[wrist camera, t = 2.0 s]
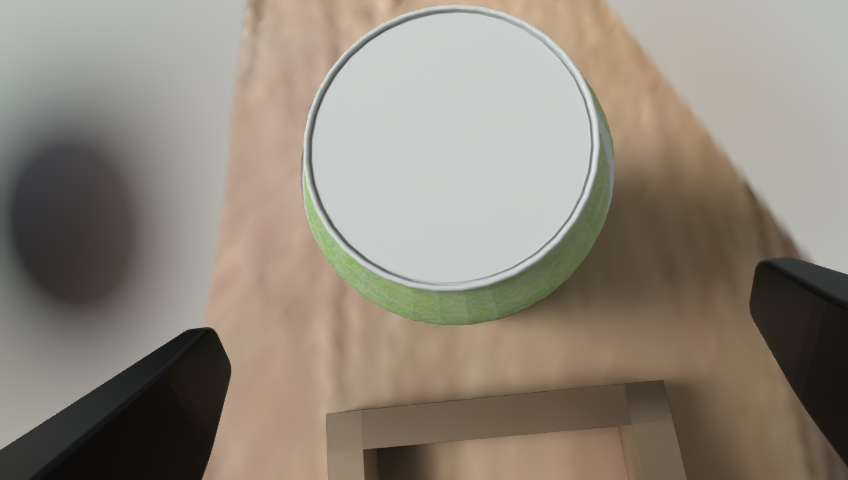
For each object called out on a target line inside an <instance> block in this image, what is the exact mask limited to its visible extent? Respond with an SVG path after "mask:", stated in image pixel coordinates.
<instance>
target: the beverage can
mask: <svg viewBox="0 0 848 480" xmlns="http://www.w3.org/2000/svg"><path fill="white" fill-rule="evenodd" d="M614 175H615V164H614V151H613V141H612V138H611V134H610V130H609V127H608V123H607V119H606V116H605V114H604V111H603V109H602V107H601V105H600V103H599V101H598V99H597V97H596V95H595V93H594V91H593V89H592V88H591V87H590V85H589V84H588V83H587V81H586V80H585V78H584V77H583V76H582V74H581V72H580V71H579V69H578V68H577V67H576V65H575V64H574V62H573V61H572V60H571V58H570V57H569V56H568V54H567V53H566V52H565V51H564V50H563V49H562V48H561V47H560V46H559V45H558V44H557V43H556V42H555V41H553V40H552V39H551V38H550V37H549V36H548V35H547V34H545V33H544V32H542V31H541V30H539V29H537V28H536V27H534V26H533V25H531V24H530V23H528V22H526V21H524V20H522V19H519V18H517V17H515V16H512V15H510V14H508V13H505V12H502V11H498V10H494V9H489V8H485V7H481V6H469V5H445V6H434V7H428V8H424V9H420V10H416V11H412V12H408V13H405V14H403V15H401V16H398V17H396V18H394V19H391V20H389V21H387V22H384V23H383V24H381V25H380V26H378V27H376V28H375V29H373V30H372V31H370V32H369V33H367V34H365V35H364V36H363V37H361V38H360V39H359V40H358V41H357V42H356V43H355V44H353V45H352V46H351V47H350V48H349V49H348V50H347V51H346V52H345V53H344V54H343V55H342V56H341V57H340V59H339V60H338V61H337V62H336V63H335V65H334V66H333V67H332V68H331V70H330V71H329V72H328V74H327V76H326V78H325V79H324V81H323V83H322V84H321V86H320V88H319V90H318V91H317V94H316V96H315V99H314V102H313V104H312V107H311V109H310V112H309V115H308V120H307V125H306V130H305V135H304V148H303V154H302V163H301V188H302V194H303V201H304V207H305V212H306V215H307V218H308V221H309V224H310V227H311V230H312V233H313V236H314V237H315V239H316V241H317V243H318V245H319V246H320V248H321V250H322V252H323V254H324V255H325V257H326V259H327V260H328V261H329V263H330V264H331V265H332V266H333V267H334V269H335V270H336V271H337V272H338V274H339V275H340V276H341V277H342V278H343V280H344V281H346V282H347V283H348V284H349V285H350V286H352V287H353V288H354V289H355V290H356V291H357V292H359V293H360V294H361V295H362V296H363V297H365V298H366V299H368V300H370V301H372V302H373V303H375V304H377V305H379V306H380V307H382V308H384V309H386V310H387V311H389V312H392V313H395V314H398V315H401V316H403V317H406V318H409V319H412V320H415V321H421V322H427V323H433V324H439V325H471V324H477V323H482V322H487V321H492V320H498V319H501V318H503V317H506V316H509V315H511V314H514V313H516V312H519V311H522V310H524V309H526V308H528V307H530V306H531V305H533V304H535V303H536V302H538V301H540V300H541V299H543V298H545V297H546V296H548V295H550V294H551V293H552V292H553V291H554V290H555V289H557V288H558V287H559V286H560V285H561V284H562V283H563V282H564V281H566V280H567V279H568V278H569V277H570V276H571V275H572V274H573V273H574V272H575V270H576V269H577V268H578V266H579V265H580V264H581V263H582V261H583V260H584V259H585V258H586V256H587V255H588V254H589V253H590V251H591V249H592V247H593V245H594V243H595V241H596V240H597V238H598V236H599V234H600V232H601V230H602V228H603V226H604V223H605V220H606V216H607V213H608V210H609V207H610V203H611V200H612V193H613V184H614Z"/></svg>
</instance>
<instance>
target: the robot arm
mask: <svg viewBox="0 0 848 480" xmlns="http://www.w3.org/2000/svg"><path fill="white" fill-rule="evenodd" d="M749 306H750V313H751V316H752V318H753V320H754V322H755V324H756V326H757V327H758V329H759V331H760V333H761V334H762V336H763V338H764V340H765V341H766V343H767V345H768V347H769V349H770V350H771V352H772V354H773V356H774V357H775V359H776V361H777V363H778V364H779V366H780V368H781V370H782V371H783V373H784V375H785V377H786V378H787V380H788V382H789V384H790V385H791V387H792V389H793V390H794V392H795V394H796V395H797V397H798V399H799V400H800V402H801V403H802V405H803V406H804V408H805V409H806V411H807V412H808V414H809V415H810V416H811V418H812V419H813V421H814V422H815V423H816V425H817V426H818V428H819V429H820V430H821V432H822V433H823V435H824V436H825V437H826V439H827V440H828V441H829V443H830V444H831V446H832V447H833V448H834V450H835V451H836V453H837V454H838V455H839V457H840V458H841V460H842V461H843V462H844V464H845V465H846V466H847V468H848V274H844V273H841V272H837V271H835V270H831V269H828V268H825V267H822V266H818V265H815V264H812V263H809V262H805V261H802V260H799V259H796V258H792V257H781V258H773V259H765V260H762V261H760V262H759V263H758V264H757V266H756V269H755V274H754V279H753V285H752V291H751V297H750V304H749ZM230 378H231V364H230V361H229V359H228V356H227V354H226V352H225V350H224V348H223V345H222V343H221V341H220V339H219V337H218V334H217V333H216V331H215V330H214V329H212V328H210V327H204V328H196V329H189V330H186V331H185V332H183V333H181V334H180V335H178V336H177V337H175V338H174V339H172V340H171V341H169V342H168V343H166V344H164V345H163V346H161V347H160V348H158V349H157V350H155V351H153V352H152V353H151V354H149V355H148V356H146V357H144V358H143V359H141V360H140V361H138V362H136V363H135V364H133V365H132V366H130V367H129V368H127V369H126V370H124V371H122V372H121V373H119V374H118V375H116V376H115V377H113V378H112V379H110V380H109V381H107V382H105V383H104V384H102V385H101V386H99V387H98V388H96V389H95V390H93V391H91V392H90V393H88V394H87V395H85V396H84V397H82V398H80V399H79V400H77V401H76V402H74V403H73V404H71V405H70V406H68V407H67V408H65V409H64V410H62V411H60V412H59V413H57V414H56V415H54V416H53V417H51V418H50V419H48V420H46V421H45V422H43V423H42V424H40V425H39V426H37V427H35V428H34V429H32V430H31V431H29V432H28V433H26V434H25V435H23V436H22V437H20V438H18V439H17V440H16V441H14V442H12V443H11V444H9V445H7V446H6V447H4V448H3V449H1V450H0V480H202V478H203V475H204V472H205V470H206V467H207V464H208V461H209V458H210V454H211V451H212V448H213V444H214V440H215V437H216V433H217V429H218V425H219V421H220V417H221V413H222V409H223V405H224V401H225V397H226V393H227V390H228V386H229V382H230Z"/></svg>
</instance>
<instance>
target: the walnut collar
mask: <svg viewBox="0 0 848 480" xmlns="http://www.w3.org/2000/svg"><path fill="white" fill-rule="evenodd" d="M613 426H618V429H619V434H620V438H621V443H622V448H623V453H624V458H625V463H626V468H627V473H628V478H629V480H687V478H686V474H685V470H684V466H683V461H682V457H681V453H680V449H679V445H678V440H677V436H676V432H675V428H674V423H673V419H672V415H671V411H670V407H669V402H668V398H667V394H666V390H665V386H664V381H663V380H660V381H646V382H635V383H625V384H615V385H605V386H595V387H585V388H575V389H565V390H555V391H545V392H535V393H525V394H515V395H505V396H495V397H485V398H475V399H465V400H455V401H445V402H435V403H425V404H415V405H405V406H395V407H385V408H375V409H365V410H355V411H345V412H337V413H329V414H326V433H327V464H328V480H379V470H378V454H377V448H384V447H395V446H406V445H417V444H427V443H438V442H449V441H460V440H471V439H482V438H493V437H504V436H515V435H526V434H537V433H548V432H558V431H569V430H580V429H591V428H602V427H613Z"/></svg>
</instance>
